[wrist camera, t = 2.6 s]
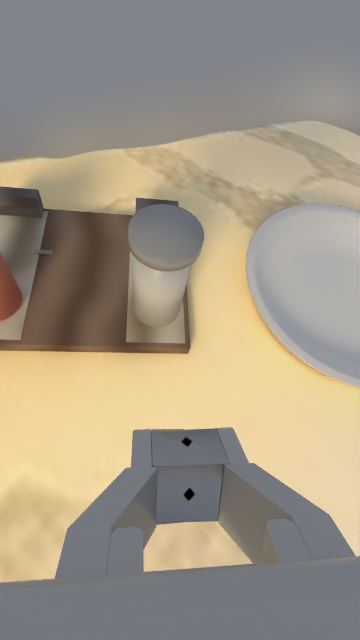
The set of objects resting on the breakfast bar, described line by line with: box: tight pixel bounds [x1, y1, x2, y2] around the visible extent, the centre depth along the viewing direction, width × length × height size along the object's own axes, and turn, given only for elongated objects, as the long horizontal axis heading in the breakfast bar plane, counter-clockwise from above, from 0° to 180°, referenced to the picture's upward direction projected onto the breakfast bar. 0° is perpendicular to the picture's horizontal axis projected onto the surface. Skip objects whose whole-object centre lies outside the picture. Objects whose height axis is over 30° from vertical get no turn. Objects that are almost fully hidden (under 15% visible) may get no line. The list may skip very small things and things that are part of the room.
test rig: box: [0, 187, 190, 354], centre depth 35 cm, size 23×18×4 cm
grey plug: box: [128, 204, 204, 327], centre depth 30 cm, size 6×6×11 cm
